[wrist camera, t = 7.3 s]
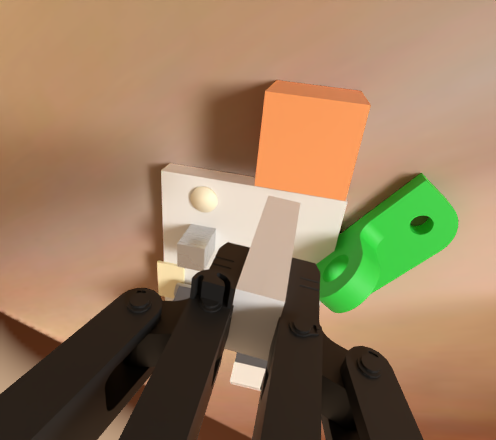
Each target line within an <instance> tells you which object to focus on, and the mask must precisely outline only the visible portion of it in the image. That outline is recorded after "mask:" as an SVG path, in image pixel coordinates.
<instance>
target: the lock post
mask: <svg viewBox="0 0 496 440" xmlns="http://www.w3.org/2000/svg"><path fill="white" fill-rule="evenodd" d="M215 239H216V228H211V227H206V226H200V225H195V224H191V225H190V226H189V228H188V229H187V230H186V232H185V233H184V235H183V236H182V238H181V239H180V240H179V242H178V243H177V267H182V268H187V269H192V270H197V271H202V270H205V268H206V266H207V264H208V262H209V260H210V259H211V257H212V255H213V253H214V251H215Z"/></svg>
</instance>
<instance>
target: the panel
mask: <svg viewBox="0 0 496 440" xmlns="http://www.w3.org/2000/svg"><path fill="white" fill-rule="evenodd" d="M161 184H162V217H163V249H164V261H159V260H158V261H157V273H158V294H159V295H160V296H164V297H165V301H173V300H174V297H175V296H174V290H175V286H176V284H177V283H183V284H188V285H191V281H192V277H193V276H194V275H195V274H196V273H198V272H200V271H197V270H192V269H187V268H182V267H177V243H178V242H179V240H180V239H181V238H182V236H183V235H184V233H185V232H186V230H187V229H188V228H189V226H190V225H191V224H195V225H200V226H206V227H211V228H216V239H215V251H214V253H213V255H212V257H211V259H210V260H209V262H208V264H207V266H206V268H205V270H207V269H209V268H210V266H211V265H212V262H213V260H214V258H215V256H216V254H217V252H218V250H219V248H220V247H221V246H223V245H224V244H226V243H227V242H230V243H234V244H238V245H242V246H246V247H251V244H252V241H253V238H254V235H255V232H256V229H257V227H258V224H259V221H260V218H261V215H262V212H263V209H264V207H265V204H266V201H267V198H268V195H269V196H274V197H278V198H282V199H286V200H290V201H295V202H299V203H300V209H299V215H298V222H297V228H296V235H295V241H294V248H293V254H292V257H293V258H297V259H301V260H305V261H309V262H313V263H316V264H317V263H318V262H320V261H321V260H323V259H324V258H325V257H327V256H328V255H329V254H331V253H332V252H333V251H334V250H335V247H336V243H337V239H338V235H339V232H340V228H341V224H342V221H343V217H344V213H345V209H346V206H347V197H346V201H342V200H336V199H330V198H324V197H318V196H312V195H306V194H300V193H294V192H288V191H282V190H276V189H271V188H265V187H259V186H254V185H255V177H252V176H246V175H239V174H233V173H227V172H221V171H215V170H209V169H203V168H197V167H191V166H185V165H179V164H173V163H169V164H168V165H167V166H166V167H165V168H163V169H162V170H161ZM320 303H321V301H320ZM320 303H319V307H320Z"/></svg>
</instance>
